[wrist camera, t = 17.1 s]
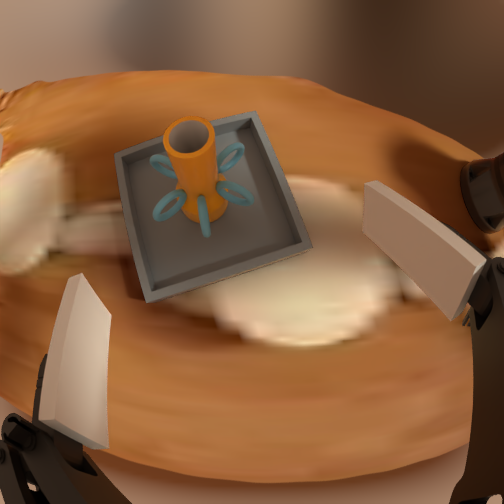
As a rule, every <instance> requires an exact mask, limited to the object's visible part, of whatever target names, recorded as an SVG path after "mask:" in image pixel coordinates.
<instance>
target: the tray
mask: <svg viewBox="0 0 504 504" xmlns="http://www.w3.org/2000/svg"><path fill="white" fill-rule="evenodd" d="M209 122H210V123H211V124H212V126H213V128H214V131H215V143H216V155H217V156H218V155H219V154H220V153H221V151H223V150H224V149H225V148H226V147H227V146H229V145H231V144H233V143H236V142H240V143H242V144H243V145H244V147H245V150H244V153H243V155H242V157H241V158H240V160H239V161H238V162H237V163H236V164H235V165H234V166H233V167H232V168H231V169H229V170H228V171H226V172H224V173H222V174H223V175H224V177H225V179H226V181H231V182H234V183H237V184H239V185H241V186H243V187H244V188H246V189H247V190H249V191H250V192H251V193H252V195H253V196H254V203H253V204H252V205H250V206H241V205H237V204H234V203H232V202H230V201H228V206H227V209H226V211H225V212H224V214H223V215H222V216H221V217H220V218H219V219H217V220H215V221H213V222H211V223H210V229H211V235H210V237H208V238H206V237H204V236H203V233H202V230H201V225H200V223H196V222H194V221H192V220H190V219H189V218H188V217H187V216H186V215H185V214H184V212H183V211H182V209H180V210H179V211H178V212H177V213H176V214H174V215H173V216H172V217H170V218H169V219H167V220H165V221H161V222H158V221H155V220H154V218H153V210H154V208H155V206H156V205H157V203H158V202H159V201H160V200H161V199H162V198H163V197H164V196H165V195H167V194H168V193H170V192H171V191H174V190H176V185H177V182H178V179H173V178H170V177H167V176H165V175H163V174H161V173H160V172H158V171H157V170H156V169H154V168H153V167H152V165H151V164H150V158H151V156H153V155H156V154H158V155H163V156H166V157H168V155H167V152H166V150H165V147H164V144H163V136H164V135H163V136H160V137H157V138H154V139H151V140H148V141H146V142H143V143H140V144H137V145H135V146H132V147H129V148H127V149H124V150H122V151H119V152H117V153H114V158H115V166H116V173H117V179H118V185H119V191H120V197H121V203H122V208H123V213H124V218H125V223H126V227H127V232H128V237H129V241H130V245H131V249H132V253H133V257H134V261H135V265H136V269H137V273H138V276H139V280H140V284H141V287H142V291H143V294H144V297H145V301H146V303H154V302H158V301H161V300H164V299H167V298H170V297H173V296H176V295H180V294H183V293H186V292H189V291H192V290H195V289H198V288H201V287H204V286H207V285H210V284H213V283H216V282H219V281H222V280H225V279H228V278H231V277H234V276H237V275H240V274H243V273H246V272H249V271H252V270H255V269H258V268H261V267H264V266H267V265H270V264H273V263H276V262H279V261H282V260H285V259H288V258H291V257H293V256H296V255H299V254H302V253H305V252H307V251H308V250H310V249H311V248H313V247H312V244H311V241H310V238H309V236H308V233H307V230H306V228H305V225H304V223H303V220H302V217H301V215H300V212H299V210H298V207H297V205H296V202H295V200H294V197H293V195H292V192H291V190H290V187H289V185H288V183H287V180H286V178H285V175H284V173H283V171H282V168H281V166H280V164H279V161H278V159H277V157H276V154H275V152H274V150H273V147H272V145H271V143H270V141H269V138H268V136H267V134H266V132H265V130H264V127H263V125H262V123H261V121H260V119H259V116H258V114H257V112H256V111H252V112H247V113H242V114H238V115H234V116H229V117H225V118H221V119H217V120H213V121H209ZM236 152H237V150H235V151H233V152H232V153H230V154H229V155H228V156H227V157H226V158H225V159H224V160H223V162H222V163H221V166H223V165H224V164H226V163H227V162H229V161H230V160H231V159H232V158H233V156H234V155H235V154H236ZM168 158H169V157H168ZM158 163H159V164H160V165H162V166H163V167H165V168H166V169H168V170H171V171H173V172H174V169H172V168H171V167H169V166H168V165H166V164H163V163H161V162H158ZM228 193H230V194H232V195H234V196H236V197H239V198H242V199H246V198H245V197H243V196H242V195H241V194H239V193H237V192H235V191H233V190H230V189H228ZM176 202H177V198H175V199H173V200H172V201H170V202H169V203H168V204H167V205H166V206H165V207H164V208H163V210H162V211H161V213H160V214H163V213H165V212H167V211H168V210H169V209H171V208H172V207H173V206H174V205H175V204H176Z"/></svg>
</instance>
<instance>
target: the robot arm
mask: <svg viewBox="0 0 504 504" xmlns="http://www.w3.org/2000/svg"><path fill="white" fill-rule="evenodd" d="M461 189H462V194H463V198H464V201H465V204H466V207H467V209H468V211H469V213H470V215H471V217H472V219H473V220H474V222H475V223H476V224H477V226H478V227H479V228H480V229H481V230H482V231H484V232H486V233H489V234H491V233H495V232H498V231H500V230H502V229H503V228H504V152H503V153H501V154H500V155H498V156H496V157H495V158H488V159H479V160H473V161H471V162H469V163H468V164H466V165H465V166H464V167H463V169H462V171H461ZM362 232H363V233H364V234H365V235H366V236H367V237H368V238H369V239H370V240H372V241H373V242H374V243H375V244H376V245H377V246H378V247H379V248H380V249H381V250H382V251H383V252H384V253H385V254H387V255H388V256H389V257H390V258H391V259H392V260H393V261H394V262H395V263H396V264H397V265H398V266H399V267H400V268H401V269H402V270H403V271H404V272H405V273H406V274H407V275H408V276H409V277H410V278H411V279H412V280H413V281H414V282H415V283H416V284H417V285H418V286H419V287H420V288H421V289H422V290H423V291H424V292H425V294H426V295H427V296H428V297H429V298H430V299H431V300H432V301H433V302H434V303H435V304H436V305H437V306H438V307H439V309H440V310H441V311H442V312H443V313H444V314H445V315H446V316H447V318H448V319H449V320H450V321H452V320H453V319H454V318H456V317H457V316H458V315H460V314H461V313H462V312H463V310H464V308H465V306H466V304H467V302H468V303H469V304H470V305H471V307H470V309H469V311H468V313H467V314H466V316H465V318H464V320H463V323H462V326H465V324H466V322H467V321H468V319H469V318H470V321H469V323H468V325H467V326H471V336H472V349H473V377H474V385H473V412H472V424H471V434H470V442H469V449H468V455H467V462H466V466H465V471H464V474H463V476H462V478H461V479H460V480H459V482H458V483H457V484H456V486H455V488H454V490H453V492H452V496H451V499H450V502H449V504H486V503H487V501H488V499H489V498H490V497H491V496H493V495H497V494H500V495H501V496H502V499H503V500H502V504H504V258H501V257H496V258H494V259H493V260H492V259H491V258H489V257H488V256H487V255H486V254H485V253H483V252H482V251H481V250H480V249H479V248H478V247H476V246H475V245H474V244H473V243H471V242H470V241H469V240H468V239H467V240H466V238H465V237H464V236H463V235H461V234H459V232H457V231H456V230H455V229H454V228H452V227H451V226H449V225H447V224H445V223H443V222H440V221H438V220H436V219H435V218H434V217H432V216H431V215H430V214H428V213H427V212H425V211H424V210H422V209H421V208H419V207H418V206H417V205H415V204H414V203H412V202H411V201H409V200H408V199H406V198H405V197H403V196H401V195H400V194H398V193H397V192H395V191H394V190H392V189H390V188H389V187H387V186H386V185H384V184H382V183H381V182H379V181H377V180H376V181H372V182H368V183H365V184H364V214H363V231H362ZM110 323H111V314H110V313H109V311H108V310H107V309H106V307H105V306H104V305H103V303H102V302H101V300H100V299H99V297H98V296H97V295H96V293H95V292H94V290H93V289H92V287H91V286H90V284H89V283H88V281H87V280H86V278H85V277H84V275H83V274H82V273H80V274H78V275H75V276H72V277H70V278H69V279H68V282H67V285H66V288H65V291H64V294H63V298H62V301H61V304H60V307H59V311H58V314H57V318H56V322H55V326H54V329H53V333H52V338H51V342H50V346H49V351H48V354H45V356H44V358H43V360H42V362H41V364H40V368H39V373H38V380H37V385H36V387H37V389H36V392H35V399H34V407H33V417H32V423H30V422H28V421H27V420H25V419H24V418H22V417H21V416H19V415H18V414H15V413H11V414H9V415H8V416H7V417H6V418H5V420H4V422H3V425H2V431H1V432H2V434H1V436H2V440H0V489H1V492H2V495H3V498H4V501H5V504H132V503H131V502H130V501H129V500H128V499H127V498H126V497H125V496H124V495H123V494H122V493H121V492H120V491H119V490H118V489H117V488H116V487H115V486H114V485H113V484H112V482H111V481H110V480H109V479H108V478H107V477H106V476H105V475H104V473H103V472H102V471H101V470H100V469H99V468H98V466H97V465H96V464H95V463H94V461H93V460H92V459H91V458H90V456H89V455H88V454H86V452H84V451H83V445H85V446H87V447H89V448H91V449H109V441H108V423H107V366H108V348H109V334H110ZM27 483H30V484H33V485H35V486H36V491H33V490H30V489H29V487H28V484H27Z"/></svg>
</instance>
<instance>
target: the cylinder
mask: <svg viewBox="0 0 504 504" xmlns="http://www.w3.org/2000/svg"><path fill="white" fill-rule="evenodd" d="M163 144H164V147H165V150H166V152H167V155H168V157H169V158H168V157H166V156H163V155H158V154H156V155H153V156H151V158H150V164H151V165H152V167H153V168H154V169H156V170H157V171H158V172H160V173H161V174H163V175H165V176H167V177H170V178H173V179H178V182H177V185H176V190H174V191H171V192H170V193H168V194H167V195H165V196H164V197H163V198H162V199H161V200H160V201H159V202H158V203H157V205H156V206H155V208H154V210H153V218H154V220H155V221H158V222H161V221H165V220H167V219H169V218H170V217H172V216H173V215H174V214H176V213H177V212H178V211H179V210H180V209H182V211H183V212H184V214H185V215H186V216H187V217H188V218H189V219H190V220H192V221H194V222H196V223H200V225H201V230H202V233H203V236H204V237H206V238H208V237H210V235H211V229H210V223H211V222H213V221H215V220H217V219H219V218H220V217H221V216H222V215H223V214H224V212H225V211H226V209H227V206H228V201H230V202H232V203H234V204H237V205H241V206H250V205H252V204H253V203H254V196H253V195H252V193H251V192H250V191H249V190H247V189H246V188H244V187H243V186H241V185H239V184H237V183H234V182H231V181H226V179H225V177H224V175H223V174H222V173H224V172H226V171H228V170H229V169H231V168H232V167H233V166H234V165H235V164H236V163H237V162H238V161H239V160H240V158H241V157H242V155H243V153H244V150H245V147H244V145H243V144H242V143H240V142H236V143H233V144H231V145H229V146H227V147H226V148H225V149H224V150H223V151H221V153H220V154H219V155H218V156H217V155H216V143H215V131H214V128H213V126H212V124H211V123H210V122H209V121H207V120H206V119H204V118H202V117H198V116H187V117H183V118H180V119H178V120H176V121H174V122H173V123H172V124H171V125H170V126H169V127H168V128H167V129H166V131H165V133H164V136H163ZM235 150H237V152H236V154H235V155H234V156H233V158H232V159H231V160H230V161H229V162H227V163H226V164H224V165H223V166H221V163H222V162H223V160H224V159H225V158H226V157H227V156H228V155H229V154H230V153H232V152H233V151H235ZM158 162H161V163H163V164H166V165H168V166H169V167H171V168H172V169H174V172H173V171H171V170H168V169H166V168H165V167H163V166H162V165H160V164H159V163H158ZM228 189H230V190H233V191H235V192H237V193H239V194H241V195H242V196H243V197H245V198H246V199H242V198H239V197H236V196H234V195H232V194H230V193H228ZM175 198H177V202H176V204H175V205H174V206H173V207H172V208H171V209H169V210H168V211H167V212H165V213H163V214H160V213H161V211H162V210H163V208H164V207H165V206H166V205H167V204H168V203H169V202H170V201H172V200H173V199H175Z"/></svg>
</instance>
